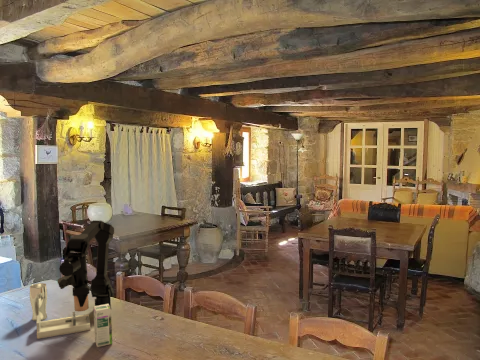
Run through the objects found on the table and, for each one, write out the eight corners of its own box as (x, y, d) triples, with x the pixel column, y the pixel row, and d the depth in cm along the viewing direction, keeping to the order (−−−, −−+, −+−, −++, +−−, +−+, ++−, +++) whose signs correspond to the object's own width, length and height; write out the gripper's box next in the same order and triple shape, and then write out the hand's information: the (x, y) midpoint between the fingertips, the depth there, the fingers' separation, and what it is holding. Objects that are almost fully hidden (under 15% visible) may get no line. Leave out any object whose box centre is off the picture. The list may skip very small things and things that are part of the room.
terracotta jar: (88, 304, 177) (87, 286, 176) (89, 310, 172) (88, 291, 171) (74, 307, 175) (73, 288, 174) (74, 312, 170) (73, 293, 169)
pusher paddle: (75, 320, 179) (75, 311, 179) (76, 328, 172) (75, 319, 171) (65, 322, 177) (65, 313, 177) (65, 330, 170) (65, 320, 170)
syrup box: (97, 347, 157) (95, 310, 156) (94, 341, 162) (93, 305, 161) (112, 344, 160) (111, 308, 159) (109, 338, 165) (108, 302, 164)
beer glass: (35, 323, 179) (34, 289, 178) (27, 319, 183) (26, 286, 182) (51, 317, 185) (49, 285, 183) (43, 314, 189) (41, 281, 187)
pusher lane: (88, 319, 183) (88, 306, 182) (90, 329, 172) (89, 315, 172) (38, 327, 175) (37, 313, 174) (37, 338, 165) (36, 324, 164)
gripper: (58, 263, 177) (60, 298, 179) (57, 277, 160) (60, 316, 161) (86, 260, 181) (88, 294, 183) (88, 273, 164) (90, 311, 166)
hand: (81, 304), depth 173 cm, fingers closed on terracotta jar, 5 cm apart
